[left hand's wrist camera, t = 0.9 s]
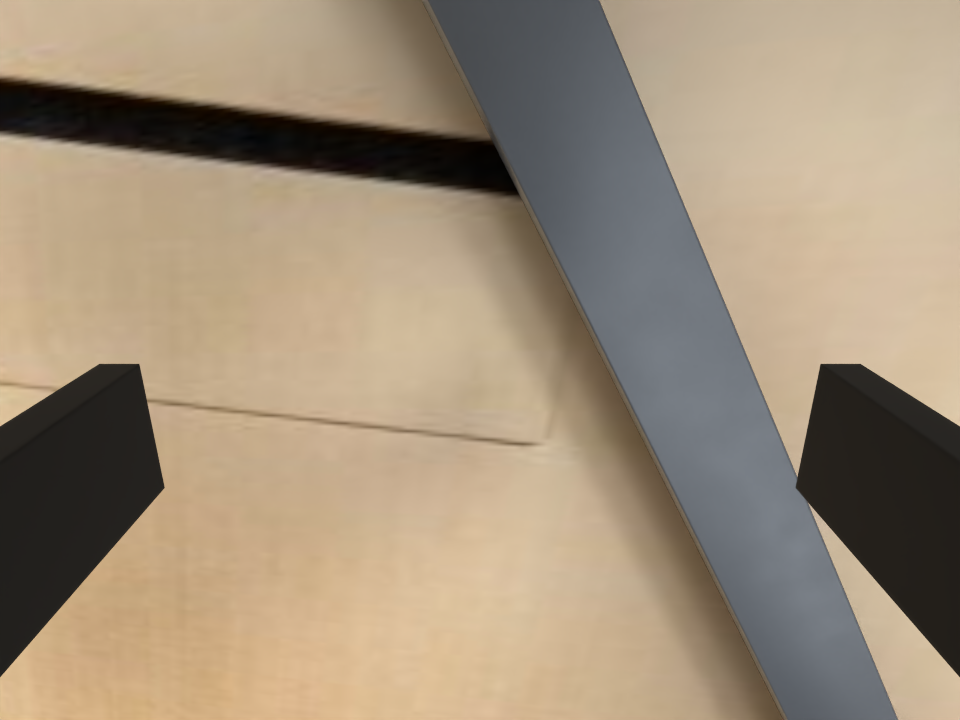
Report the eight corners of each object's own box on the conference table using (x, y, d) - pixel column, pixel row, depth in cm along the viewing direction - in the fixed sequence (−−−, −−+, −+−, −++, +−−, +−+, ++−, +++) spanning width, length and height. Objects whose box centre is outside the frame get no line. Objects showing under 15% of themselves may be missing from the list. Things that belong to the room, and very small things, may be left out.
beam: (316, -209, 25) (249, -356, 18) (424, -284, 24) (403, -473, 17) (871, 894, 50) (944, 1034, 42) (934, 874, 49) (1020, 1012, 41)
